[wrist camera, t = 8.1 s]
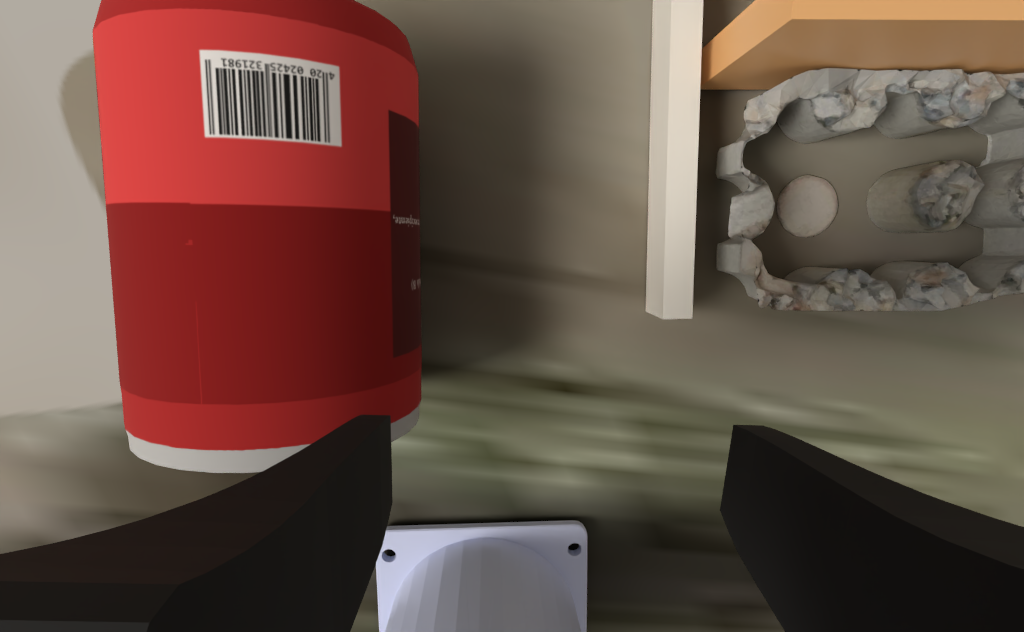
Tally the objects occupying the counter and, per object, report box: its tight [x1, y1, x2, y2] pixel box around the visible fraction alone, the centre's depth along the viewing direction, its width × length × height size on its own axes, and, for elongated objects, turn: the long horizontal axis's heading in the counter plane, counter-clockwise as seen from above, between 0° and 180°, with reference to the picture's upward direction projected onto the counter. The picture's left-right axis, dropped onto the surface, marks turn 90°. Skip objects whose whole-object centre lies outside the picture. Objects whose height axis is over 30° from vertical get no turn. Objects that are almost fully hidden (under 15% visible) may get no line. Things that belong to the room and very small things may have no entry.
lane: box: [646, 0, 703, 319], centre depth 16 cm, size 14×16×6 cm
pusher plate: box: [700, 0, 1024, 90], centre depth 16 cm, size 1×13×6 cm, turn 91°
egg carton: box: [716, 68, 1024, 311], centre depth 18 cm, size 11×8×4 cm
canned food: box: [93, 0, 422, 473], centre depth 15 cm, size 8×8×11 cm
